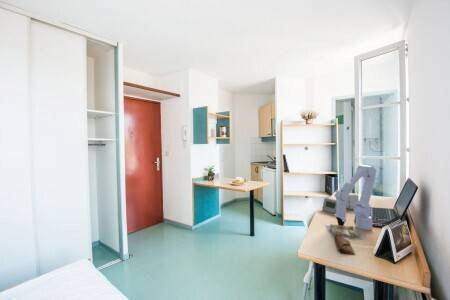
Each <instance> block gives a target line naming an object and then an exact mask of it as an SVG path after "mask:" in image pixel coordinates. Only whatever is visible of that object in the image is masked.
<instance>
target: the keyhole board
mask: <svg viewBox="0 0 450 300" xmlns="http://www.w3.org/2000/svg"><path fill="white" fill-rule="evenodd" d="M325 228H326V230H327V231H328V234H329V235H330V237H331V238H334V237H335V235H333V233H332V231H331V230H330V225H327V224H325ZM353 230H354V231H352V230H350V231H349V234H350V237H348V236H341V234H340V233H341V232H342V231H341V230H339V229H336V230H335V231H336V235H339V236H341V237H342V238H344V239H347V240H349V239H350V240H359V241H361V240H362V241H363V240H364V239H363V237H361V235H360V234H359V233H358V232H357V231H356V229H355V228H353ZM356 233H357V235H358V237H355V236H354V234H356Z"/></svg>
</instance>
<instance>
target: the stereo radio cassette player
mask: <svg viewBox="0 0 450 300" xmlns="http://www.w3.org/2000/svg"><path fill="white" fill-rule="evenodd" d="M339 190H340V189H335V193H336V192H337V191H339ZM358 201H359V194H356V193H354V192H350V193H349V198H348V199H347V200H346V209H349V210H353V208H354V206H355V205H356V202H358Z"/></svg>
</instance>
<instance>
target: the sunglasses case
mask: <svg viewBox="0 0 450 300" xmlns="http://www.w3.org/2000/svg"><path fill="white" fill-rule="evenodd" d="M333 238H334V241H335V244H336V247H337V249H338V252H339V253H340V254H342V255H347V256H348V255H350V256H356V253H355V251H354V248H353V247H352V244H351V242H350V241H349V239H347V238H342V237H341V236H339V235H335V237H333Z"/></svg>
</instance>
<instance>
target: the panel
mask: <svg viewBox="0 0 450 300" xmlns="http://www.w3.org/2000/svg"><path fill="white" fill-rule="evenodd" d="M329 226H330V230H331V231H332V233H333V235H336V231H335V230H336V229H339V230H341V231H342V232H341V233H340V234H341V236H348V237H350V234H349V231H350V230H352V231H354V230H353V228H354V226H352V225H345V224H344V225H338V224H333V223H332V224H331V223H330V224H329ZM354 229H355V228H354ZM357 233H358V232H357ZM357 233H356V234H354V236H355V237H358V235H357Z"/></svg>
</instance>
